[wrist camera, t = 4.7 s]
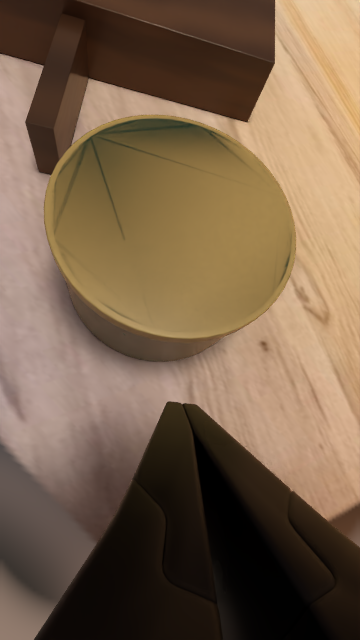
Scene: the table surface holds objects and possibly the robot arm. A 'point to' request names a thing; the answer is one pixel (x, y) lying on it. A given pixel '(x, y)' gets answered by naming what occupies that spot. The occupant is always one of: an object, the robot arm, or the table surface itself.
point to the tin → (167, 235)
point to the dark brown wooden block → (137, 56)
